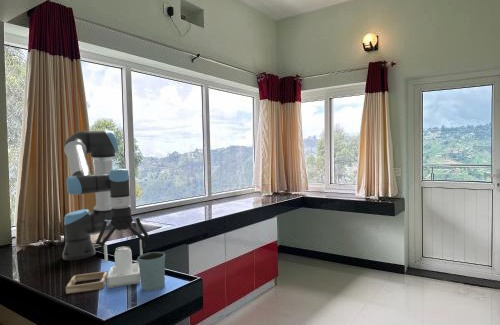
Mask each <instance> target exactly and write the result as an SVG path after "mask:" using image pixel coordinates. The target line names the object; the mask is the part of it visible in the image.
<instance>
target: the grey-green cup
mask: <svg viewBox="0 0 500 325" xmlns="http://www.w3.org/2000/svg"><path fill="white" fill-rule="evenodd" d="M165 262H166V253H165V252H161V251H151V252H146V253H143V254H142V255H140V254H139V256H137V263H138V264H139V269H140V270H139V271H140V278H141V281H140V284H141V289H142V291H146V292H153V291H155V292H156V291H158V290H160V289H163V288H164V287H165V284H166V283H165V282H166V281H165V280H166V277H165V276H166V275H165V274H166V272H165V271H166V266H165V264H166V263H165Z"/></svg>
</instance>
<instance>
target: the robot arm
mask: <svg viewBox="0 0 500 325" xmlns="http://www.w3.org/2000/svg"><path fill="white" fill-rule="evenodd" d="M63 151H64V154H65V155H66V156H67V160H68V161H67V162H68V168H69V173H70V174H69V175H70V176H67V177H66V191H67V194H68V195H83V194H84V195H85V194H92V193H93V194H95V199H96V200H95V201H96V202H95V203H96V204H95V206H94V207H93V211H90V210H89V208H88V209H87V208H86V209H79V210H75V211H71V212H69V213H66V214H65V215H64V218H63V221H64V222H63V226H64V237H65V243H64V248H63V251H62V260H64V261H78V260H83V259H87V258H91V257H92V256H95V255H96V248H95V246H94V243H93V241H92V239H91V235H92V234H98V233H99V235H98V237H97V239H96V242H95V244H96V245H99V246H100V251H101V254H103V255H104V262H108V260H109V257H108V256H109V255H108V243H106V242H107V241H108V240H109V238H110V237H111V236H112V234H113V233H114V232H115V231H116V230H117V231H122V230H123V231H124V230H125V231H126V230H128V229H129V230H130V231H131V232H132V233H133V234H134V235H135V236H136V237H137V238H138V239H139V256H140V255H142V254H144V253H143V249H145V248H146V240H148V239H149V238H150V235H149V233H148V232H147V230H146V229H145V227H144V226H143V224H142V222H141V219H140V216H136V217H133V216H132V207H131V192H130V191H131V190H130V175H129V169H127V168H118V169H116V168H113V159H114V158H115V157H116V154H117V153H118V152H119V144H118V139H117V136H116V134H115V132H114V131H113V130H81V131H77V132H75V133H73V134H71V135H69V136H68V137H67V139H66V140H65V142H64V144H63ZM86 155H90V158H91V159H92V160H93V161H94V162H93V163H94V174H91V171H90V167H89V163H88V160H87V156H86ZM133 222H134V223H135V224H137V226H138V228H139V230H140V231H141V233H142V234H141V233H140V232H139V231H138V230H137V229H136V228H135V226H134V225H132V223H133ZM106 232H107V234H106V236H105V237H104V238H103V240H102V237H103V235H104V233H106Z"/></svg>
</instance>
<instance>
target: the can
mask: <svg viewBox="0 0 500 325" xmlns="http://www.w3.org/2000/svg"><path fill="white" fill-rule="evenodd" d="M132 256H133V255H132V250H131V247H130V246H128V245H126V246H119V247H116V248H115V251H114V266H115V269H116V276H120V275H127V274H133V269H132V264H133V257H132Z"/></svg>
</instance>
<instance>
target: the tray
mask: <svg viewBox="0 0 500 325" xmlns="http://www.w3.org/2000/svg"><path fill="white" fill-rule="evenodd" d="M132 269H133V274H127V275H120V276H116V269H115V265H113V266H110V269H109V271H108V276H107V281H106V284H107V289H110V288H111V289H112V288H119V286H120V287H125V285H126V286H131V285H132V284H133V285H137V284H138V285H139V283H140V284H141V281H140V280H141V278H140V271H139V270H140V269H139V264H138V262H132Z"/></svg>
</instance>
